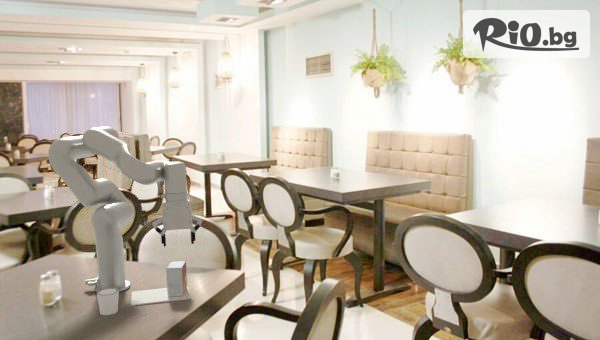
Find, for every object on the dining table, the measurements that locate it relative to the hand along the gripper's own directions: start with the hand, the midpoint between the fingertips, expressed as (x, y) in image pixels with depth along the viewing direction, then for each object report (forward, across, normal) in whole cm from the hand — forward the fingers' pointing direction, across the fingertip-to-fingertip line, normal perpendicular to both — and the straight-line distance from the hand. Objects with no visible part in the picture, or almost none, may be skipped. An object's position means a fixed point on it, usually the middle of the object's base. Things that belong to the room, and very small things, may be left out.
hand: (178, 244), depth 186 cm
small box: (+18, -1, 0) cm, 18 cm away
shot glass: (+18, -24, -9) cm, 32 cm away
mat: (+18, -7, 0) cm, 20 cm away
